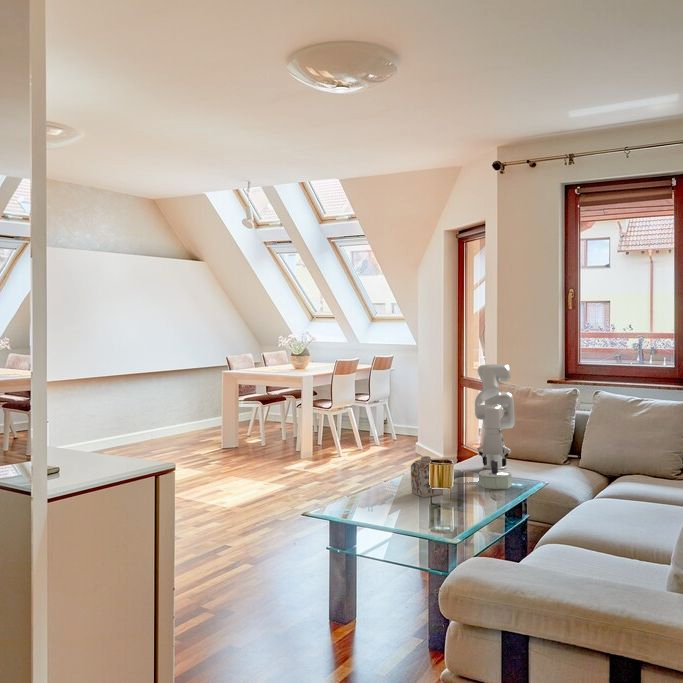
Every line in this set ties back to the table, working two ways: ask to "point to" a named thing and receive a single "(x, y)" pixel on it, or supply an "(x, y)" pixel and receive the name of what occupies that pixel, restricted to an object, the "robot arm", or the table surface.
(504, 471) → the lid
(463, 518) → the table surface
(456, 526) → the table surface
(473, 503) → the table surface
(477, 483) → the mat
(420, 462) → the decorative jar
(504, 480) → the bowl
